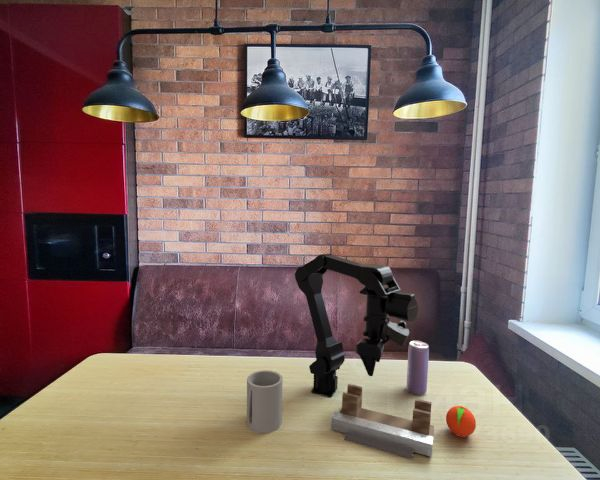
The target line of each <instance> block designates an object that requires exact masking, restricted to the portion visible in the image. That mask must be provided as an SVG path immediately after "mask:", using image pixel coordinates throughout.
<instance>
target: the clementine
mask: <svg viewBox="0 0 600 480" xmlns="http://www.w3.org/2000/svg"><path fill="white" fill-rule="evenodd" d="M445 421H446V422H445V423H446V425H447V427H448V429H449V430H450V431H451V432H452V434H454V435H456V436H458V437H461V438H462V437H464V438H465V437H469V436H470V435H473V433H474V431H475V430H476V428H477V424H476V423H477V421H476V418H475V416H474V414H473V412H472V411H471V410H469V409H468V408H467V407H465V406H463V405H455V406H452V407H450V409H448V411H447V412H446V415H445Z"/></svg>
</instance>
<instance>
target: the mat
mask: <svg viewBox="0 0 600 480" xmlns="http://www.w3.org/2000/svg"><path fill="white" fill-rule="evenodd" d="M343 441H348V442H351V443H355V444H358V445H362V446H365V447H368V448H371V449H372V448H373V449H376V450H380V451H382V452H386V453H390V454H393V455H398V456H401V457H404V458H408V459H411V460H413V457H414V452H412V451H408V450H405V449H401V448H398V447H394V446H390V445H387V444H383V443H380V442H376V441H372V440H369V439H365V438H362V437H358V436H354V435H351V434H347V433H345V436H344V438H343Z"/></svg>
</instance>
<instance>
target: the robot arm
mask: <svg viewBox="0 0 600 480" xmlns="http://www.w3.org/2000/svg"><path fill="white" fill-rule="evenodd" d="M328 270H329V271H331V272H335V273H339V274H341V275H345V276H348V277H351V278H354V279H355V280H357V281H358V282H359V283H360V284H361V285H362V286H364V288H363V287H362V289H361V290H359V294H360V295H365V296H366V304H365V305H366V306H365V315H364V317H363V321H364V322H365V326H364V331H363V333H362V335H363V338H361V339H360V340H358V342H357V344H356V345H355V353H356V354H357V355H358V356H359V358H360V360H361V361H362V364H363V367H364V369H365V370H366V373H367V375H368V376H369V377H373V376H374V372H375V369H376V368H375V367H376V364H377V363H380V362H381V358H382V356H383V354H384V346H385V344H386V343H388V342H389V341H392V342H393V343H396V344H397V345H398V346H400V347H404V345H405V343H406V342H407V339H408V338H409V334H410V331H409V330H410V329H409V328H407V322H410V323H411V322H412V323H413V322H414V321H415V320H416V319H417V318H416V317H417V316H418V312H419V305H418V302H417V299H415V293H409V292H408V293H406V292H401V291H402V290H401V287H399V284H398V282H397V280H396V279H395V277H394V275H393V271H392V270H391V268H390V266H388V265H384V264H374V263H367V264H366V263H361V262H357V261H353V260H351V259H346V258H343V257H341V256H340V257H339V256H337V255H333V254H332V253H321V254H318V255H317V256H315V257H314V259H312V260H310V261H309V262H307V263H305V264H304V265H301V266H299V267H297V268H296V270H295V272H294V279H295V282H296V284H297V287H298V288H299V290H300V291H301V292H302V293H303V295H305V298H306V301H307V305H308V309H309V310H308V311H309V313H310V317H311V322H312V325H313V329H314V334H315V336H316V337H315V338H316V341H317V342H316V346H315V351H314V354H315V361H314V362H312V363H311V364H310V365H308V367H309V372H310V374H312V375H313V387H312V388H311V393H312V394H317V395H320V396H321V395H322V396H326V397H329V398H332V397H333V396H334V394H335V393H336V391H337V390H338V380H339V376H338V375H337V370H340V369H341V366H342V365H343V364H344V362H345V361H346V357H345V356H346V353H345V351H344V347H343V345H344V344H343V342H342V341H339V342H338V341H337V340H336V339H335V338H334V335H333V331H332V328H331V325H330V324H331V323H330V321H329V317H328V312H327V309H326V305H325V301H324V298H323V294H322V289H323V286H324V285H323V283H324V278H323V276H324V275H325V274H326V273H327V272H328ZM384 287H385V288H384ZM391 318H394V319H397V320H400V321H398V322H397V323H396V322H392V321H391ZM405 321H406V322H405ZM366 337H367V338H366Z"/></svg>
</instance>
